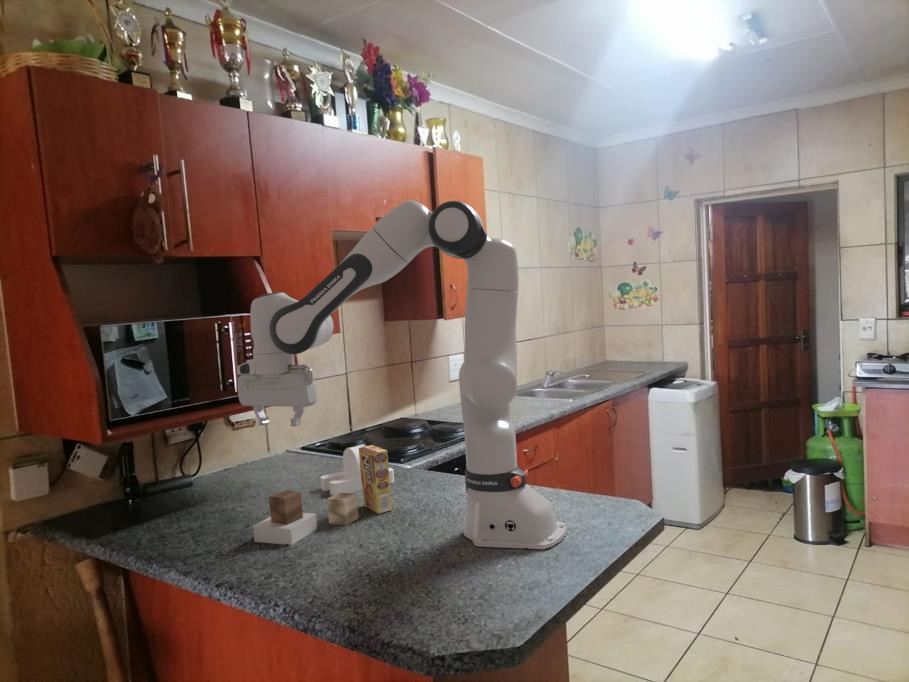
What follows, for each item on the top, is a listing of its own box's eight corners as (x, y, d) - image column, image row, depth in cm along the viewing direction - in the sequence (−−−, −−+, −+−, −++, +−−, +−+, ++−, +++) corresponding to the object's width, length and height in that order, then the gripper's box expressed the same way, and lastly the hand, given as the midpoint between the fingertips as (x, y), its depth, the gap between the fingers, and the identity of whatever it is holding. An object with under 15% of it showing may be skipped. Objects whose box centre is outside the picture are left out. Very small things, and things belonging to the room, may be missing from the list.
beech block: (358, 518, 157) (356, 494, 157) (346, 525, 153) (344, 500, 152) (341, 516, 159) (339, 492, 159) (329, 523, 155) (327, 498, 155)
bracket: (335, 497, 176) (331, 456, 175) (320, 489, 184) (316, 450, 184) (395, 482, 187) (393, 443, 186) (379, 475, 195) (376, 438, 194)
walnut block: (303, 517, 149) (300, 491, 149) (287, 524, 145) (284, 498, 144) (287, 514, 152) (285, 489, 151) (271, 522, 147) (268, 496, 147)
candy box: (393, 510, 161) (388, 449, 160) (377, 514, 159) (373, 453, 158) (377, 502, 168) (372, 444, 167) (362, 506, 166) (357, 447, 165)
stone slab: (317, 530, 152) (315, 513, 151) (292, 546, 142) (290, 529, 142) (281, 527, 155) (280, 511, 155) (254, 543, 146) (253, 526, 146)
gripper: (320, 362, 144) (325, 423, 145) (251, 363, 154) (256, 421, 155) (301, 366, 139) (307, 429, 140) (231, 367, 148) (236, 427, 149)
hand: (279, 425), depth 147 cm, fingers open, 8 cm apart
